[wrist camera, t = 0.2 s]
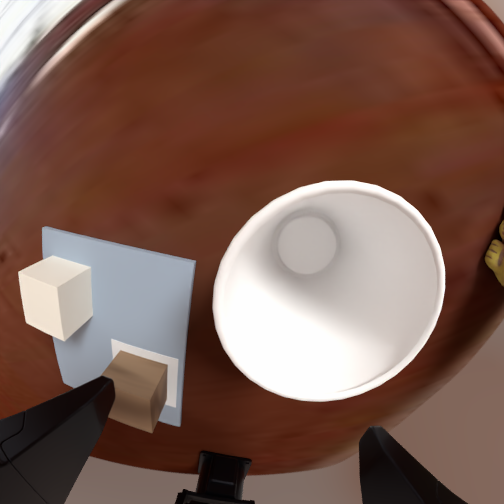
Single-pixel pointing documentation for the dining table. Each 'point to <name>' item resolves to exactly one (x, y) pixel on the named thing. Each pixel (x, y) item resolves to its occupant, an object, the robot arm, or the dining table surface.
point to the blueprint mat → (127, 311)
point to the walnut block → (137, 390)
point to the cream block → (56, 296)
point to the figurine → (497, 256)
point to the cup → (329, 291)
